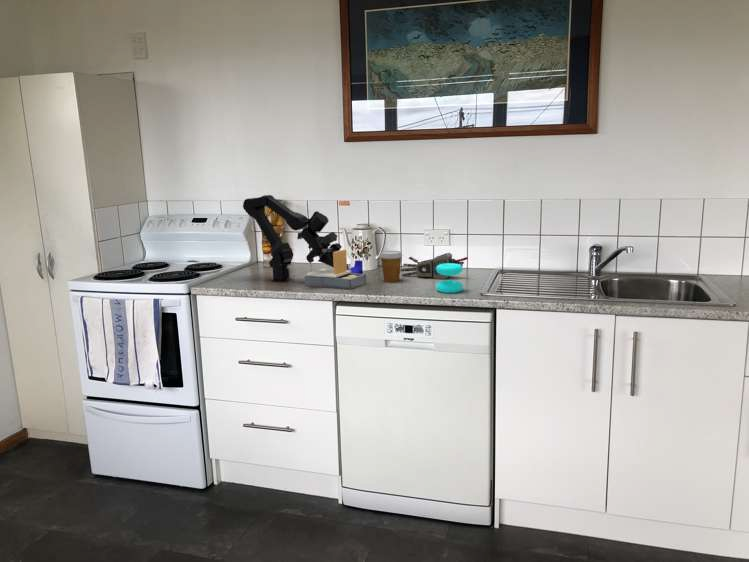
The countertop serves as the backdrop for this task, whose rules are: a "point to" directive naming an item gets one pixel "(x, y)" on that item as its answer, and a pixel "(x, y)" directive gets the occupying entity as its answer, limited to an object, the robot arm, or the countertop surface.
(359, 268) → the cable clip
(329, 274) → the lid
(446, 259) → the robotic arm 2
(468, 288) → the countertop surface
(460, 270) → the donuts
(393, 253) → the disposable coffee cup
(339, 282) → the frame
